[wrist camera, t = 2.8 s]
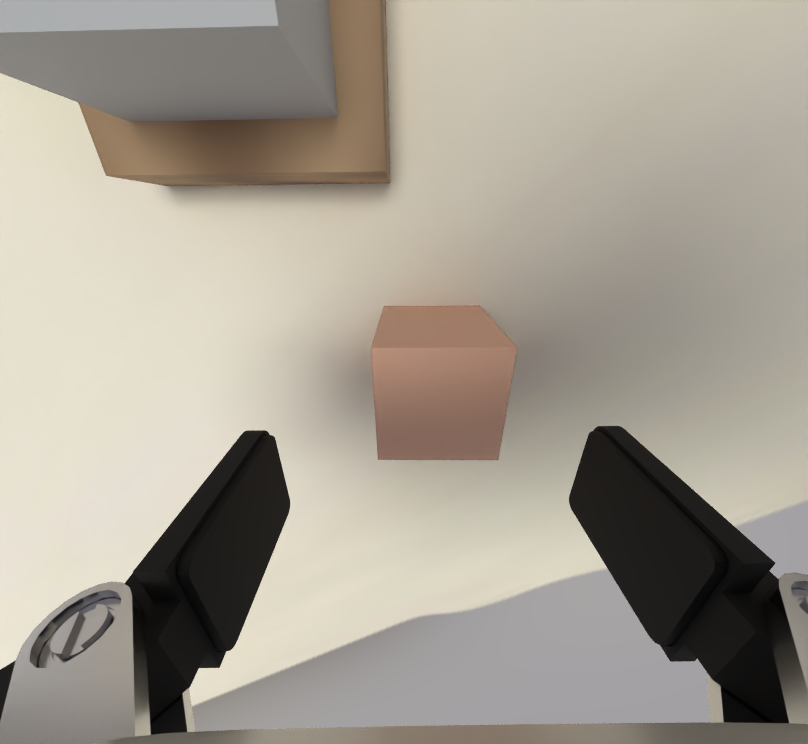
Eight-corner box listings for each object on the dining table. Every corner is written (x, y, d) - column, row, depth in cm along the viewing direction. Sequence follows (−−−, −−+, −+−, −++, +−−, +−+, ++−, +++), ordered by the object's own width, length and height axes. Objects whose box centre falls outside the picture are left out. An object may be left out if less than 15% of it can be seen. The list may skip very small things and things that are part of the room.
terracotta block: (479, 305, 16) (517, 347, 10) (471, 389, 18) (498, 460, 12) (384, 306, 16) (371, 347, 10) (387, 389, 18) (377, 459, 12)
